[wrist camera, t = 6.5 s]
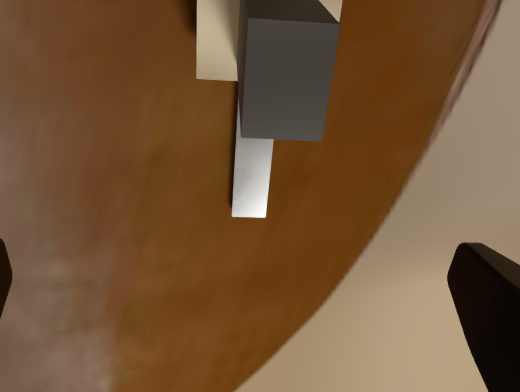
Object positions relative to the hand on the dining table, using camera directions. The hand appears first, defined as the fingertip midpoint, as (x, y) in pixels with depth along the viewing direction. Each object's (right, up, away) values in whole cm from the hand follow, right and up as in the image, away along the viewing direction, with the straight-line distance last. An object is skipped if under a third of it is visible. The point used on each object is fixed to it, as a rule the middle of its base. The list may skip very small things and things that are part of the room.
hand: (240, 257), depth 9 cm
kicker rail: (0, +4, +11) cm, 12 cm away
